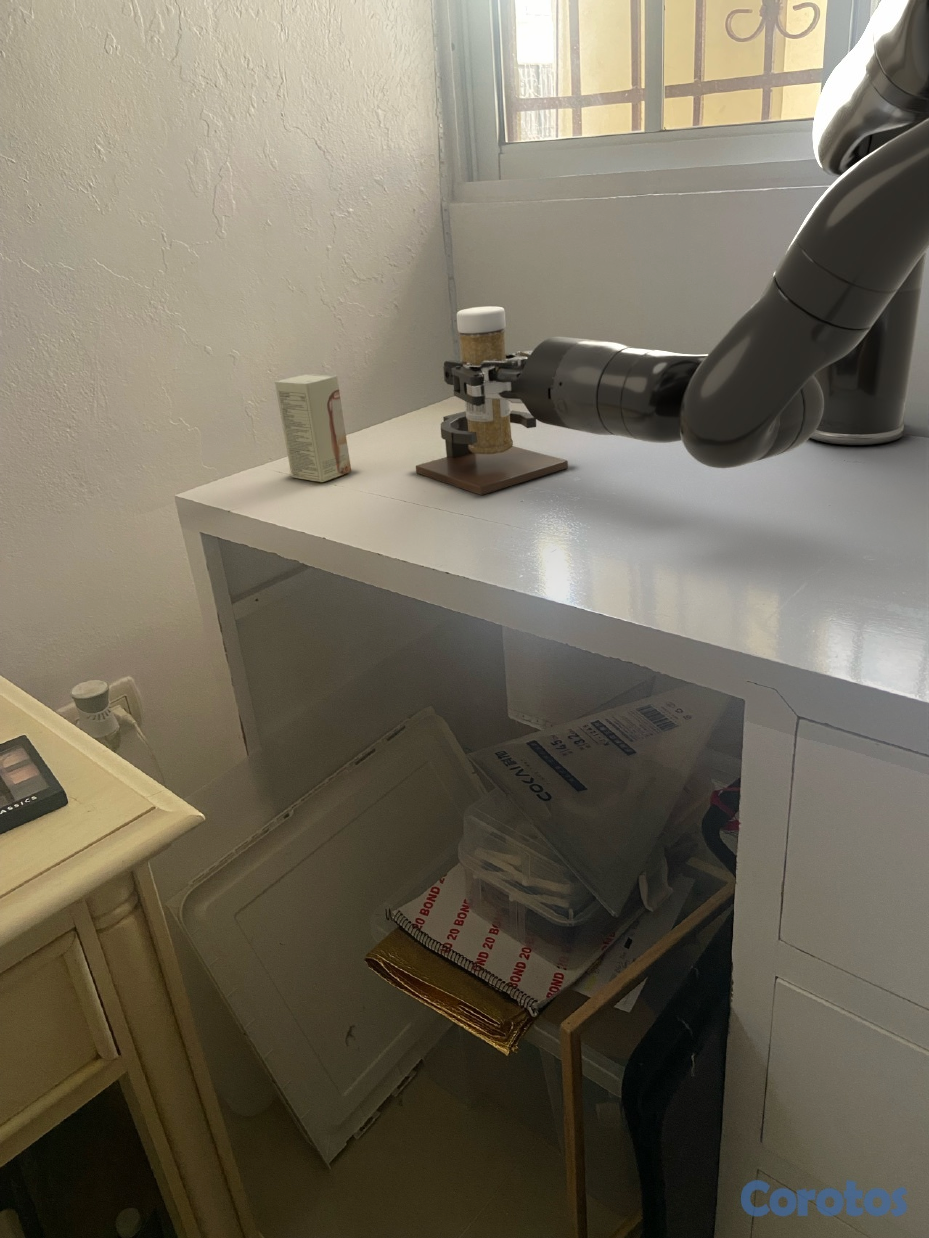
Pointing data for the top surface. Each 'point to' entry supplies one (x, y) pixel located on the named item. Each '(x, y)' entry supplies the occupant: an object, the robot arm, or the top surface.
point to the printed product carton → (313, 426)
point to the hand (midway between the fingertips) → (467, 367)
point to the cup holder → (486, 459)
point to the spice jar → (477, 345)
